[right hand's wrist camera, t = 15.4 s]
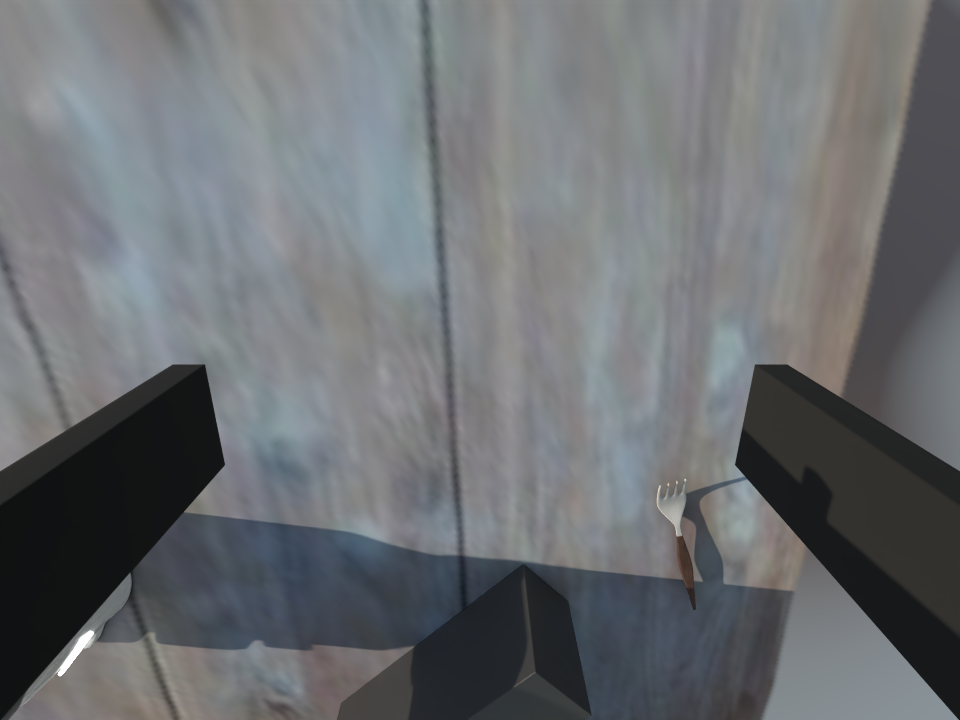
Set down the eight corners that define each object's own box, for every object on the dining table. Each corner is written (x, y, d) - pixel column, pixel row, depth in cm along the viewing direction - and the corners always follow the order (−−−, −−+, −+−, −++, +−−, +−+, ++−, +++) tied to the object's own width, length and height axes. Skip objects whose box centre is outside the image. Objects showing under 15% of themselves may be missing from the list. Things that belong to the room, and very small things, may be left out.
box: (523, 563, 48) (535, 672, 37) (568, 601, 49) (591, 715, 39) (341, 703, 54) (307, 828, 44) (385, 732, 56) (364, 860, 45)
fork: (678, 608, 49) (686, 625, 47) (649, 473, 44) (657, 486, 42) (705, 602, 49) (714, 619, 47) (679, 465, 44) (688, 478, 42)
